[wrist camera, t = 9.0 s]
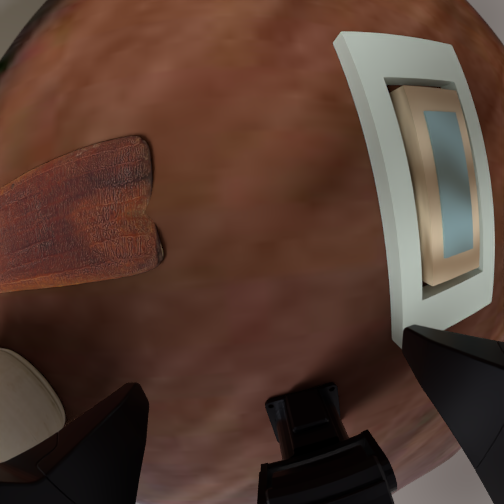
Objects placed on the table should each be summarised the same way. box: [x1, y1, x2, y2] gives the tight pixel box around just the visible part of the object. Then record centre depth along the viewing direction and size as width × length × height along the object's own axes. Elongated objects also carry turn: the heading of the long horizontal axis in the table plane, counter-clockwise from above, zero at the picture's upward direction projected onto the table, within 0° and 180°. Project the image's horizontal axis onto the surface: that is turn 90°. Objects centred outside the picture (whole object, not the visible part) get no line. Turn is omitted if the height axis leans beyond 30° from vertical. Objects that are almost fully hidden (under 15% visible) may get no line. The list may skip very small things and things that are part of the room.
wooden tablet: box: [0, 136, 163, 293], centre depth 18 cm, size 27×10×2 cm, turn 98°
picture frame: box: [389, 85, 480, 286], centre depth 18 cm, size 15×6×3 cm, turn 12°
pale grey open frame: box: [333, 32, 495, 349], centre depth 18 cm, size 25×12×2 cm, turn 14°
